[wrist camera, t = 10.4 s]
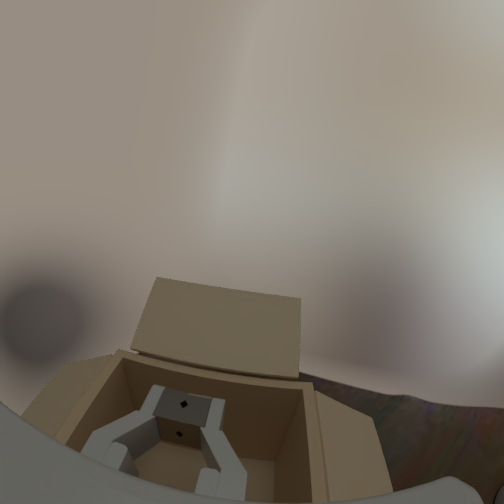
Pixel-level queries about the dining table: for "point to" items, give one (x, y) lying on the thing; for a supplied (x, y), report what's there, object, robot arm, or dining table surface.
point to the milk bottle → (500, 496)
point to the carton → (225, 428)
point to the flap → (221, 328)
